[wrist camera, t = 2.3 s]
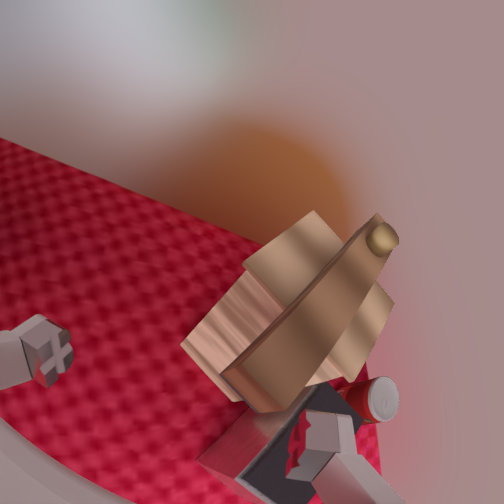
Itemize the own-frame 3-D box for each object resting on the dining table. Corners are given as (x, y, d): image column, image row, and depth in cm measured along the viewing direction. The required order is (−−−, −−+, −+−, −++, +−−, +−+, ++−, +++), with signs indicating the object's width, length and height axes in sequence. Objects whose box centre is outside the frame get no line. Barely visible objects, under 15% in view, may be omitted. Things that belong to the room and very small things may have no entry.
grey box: (237, 495, 32) (296, 521, 20) (195, 460, 33) (238, 480, 21) (298, 426, 42) (367, 418, 30) (263, 391, 43) (325, 374, 31)
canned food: (331, 431, 44) (375, 427, 36) (323, 392, 48) (366, 380, 39) (359, 421, 47) (403, 413, 39) (352, 384, 51) (394, 371, 43)
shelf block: (232, 406, 40) (354, 381, 21) (175, 344, 42) (244, 260, 22) (274, 361, 47) (394, 303, 28) (223, 305, 49) (313, 210, 29)
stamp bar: (256, 413, 16) (307, 407, 12) (218, 374, 17) (258, 356, 13) (377, 254, 31) (412, 227, 26) (356, 231, 31) (390, 201, 27)
